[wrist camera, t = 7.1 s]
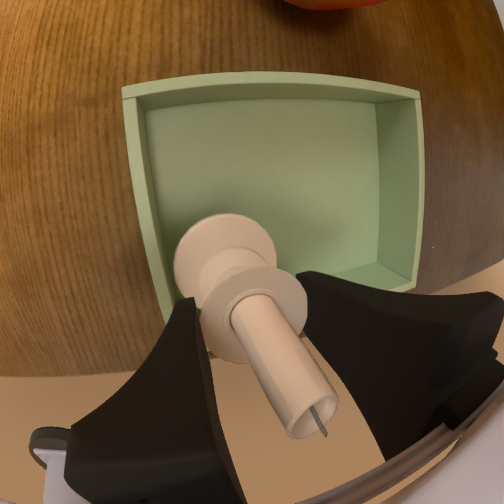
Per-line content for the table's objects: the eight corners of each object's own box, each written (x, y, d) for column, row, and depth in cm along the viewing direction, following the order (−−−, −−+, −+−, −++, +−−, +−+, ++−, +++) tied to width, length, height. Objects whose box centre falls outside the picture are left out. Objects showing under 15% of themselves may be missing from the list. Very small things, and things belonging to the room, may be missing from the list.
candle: (266, 202, 14) (442, 298, 4) (279, 294, 16) (396, 437, 6) (161, 227, 13) (158, 406, 3) (187, 319, 15) (233, 505, 5)
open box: (377, 264, 22) (415, 287, 18) (172, 315, 18) (176, 358, 14) (375, 97, 17) (419, 91, 13) (133, 105, 13) (121, 86, 9)
